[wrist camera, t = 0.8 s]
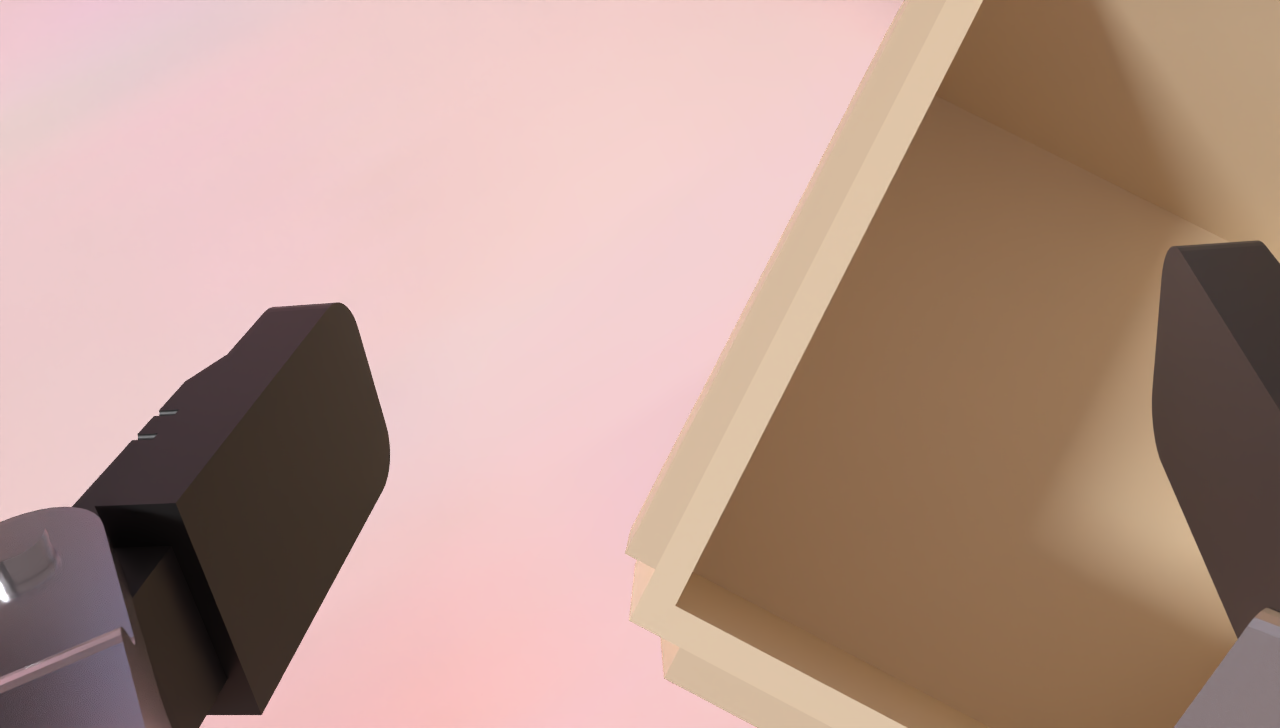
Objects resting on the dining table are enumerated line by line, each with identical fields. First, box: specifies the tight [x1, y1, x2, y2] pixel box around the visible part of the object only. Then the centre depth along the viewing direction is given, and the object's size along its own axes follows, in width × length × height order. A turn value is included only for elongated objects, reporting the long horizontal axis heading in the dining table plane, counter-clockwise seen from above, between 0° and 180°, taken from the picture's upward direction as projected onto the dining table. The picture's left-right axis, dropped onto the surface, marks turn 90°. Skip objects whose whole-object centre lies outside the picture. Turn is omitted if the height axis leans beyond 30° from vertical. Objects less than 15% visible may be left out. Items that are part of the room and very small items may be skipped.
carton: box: [625, 0, 1280, 728], centre depth 27 cm, size 17×17×12 cm
